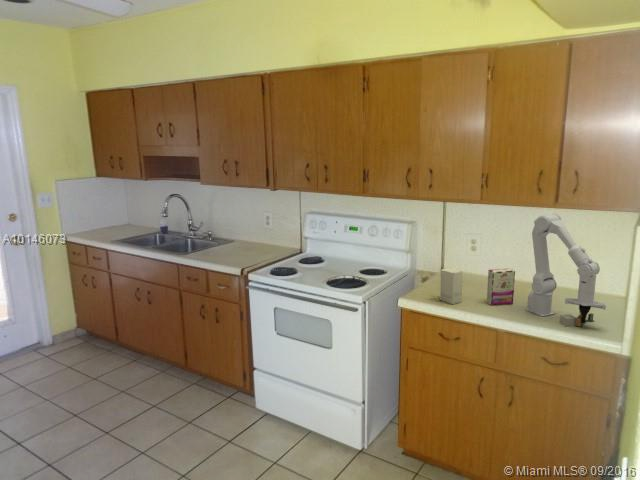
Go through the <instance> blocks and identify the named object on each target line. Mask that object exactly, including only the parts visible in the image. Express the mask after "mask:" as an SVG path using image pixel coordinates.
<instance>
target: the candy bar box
mask: <svg viewBox="0 0 640 480" xmlns="http://www.w3.org/2000/svg"><path fill="white" fill-rule="evenodd" d="M487 273H488V275H487V288H486V289H487V291H486V303H487V304H488V305H490V306H503V305H514V296H515V293H514V292H515V277H516V270H514V269H512V268H510V267H507V268H493V269H488V271H487Z"/></svg>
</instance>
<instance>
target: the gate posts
mask: <svg viewBox="0 0 640 480" xmlns="http://www.w3.org/2000/svg"><path fill="white" fill-rule="evenodd" d="M587 315H588V316H587V319H586V321H585V323H587V322H589V323H593V322H595V320H594V313H592V312H589V313H588V314H587Z"/></svg>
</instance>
